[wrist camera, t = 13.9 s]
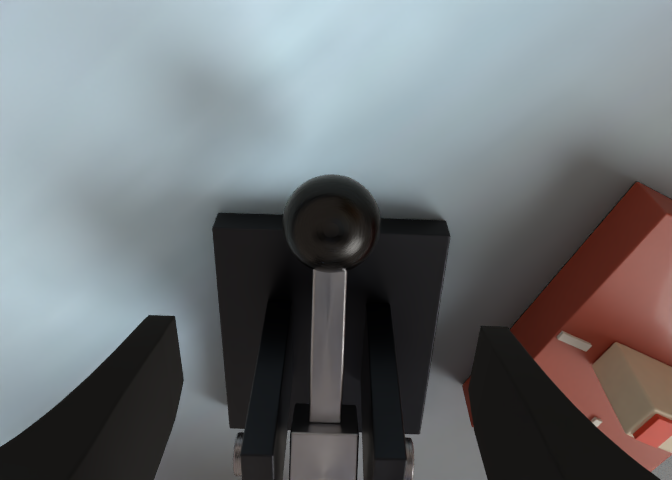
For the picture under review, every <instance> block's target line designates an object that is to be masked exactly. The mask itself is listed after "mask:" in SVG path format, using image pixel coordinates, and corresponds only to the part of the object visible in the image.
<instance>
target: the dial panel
mask: <svg viewBox="0 0 672 480" xmlns="http://www.w3.org/2000/svg"><path fill="white" fill-rule="evenodd" d="M510 331H511V332H512V333H513V335H514V336H515V337H516V338H517V340H518V341H519V342H520V343H521V344H522V346H523V347H524V348H525V349H526V351H527V352H528V353H529V354H530V355H531V357H532V358H533V359H534V360H535V361H536V363H537V364H538V365H539V366H540V367H541V369H542V370H543V371H544V372H545V373H546V374H547V376H548V377H549V378H550V379H551V380H552V381H553V382H554V383H555V385H556V386H557V387H558V388H559V389H560V390H561V391H562V392H563V393H564V395H565V396H566V397H567V398H568V399H569V400H570V401H571V402H572V403H573V404H574V405H575V406H576V407H577V408H578V409H579V410H580V411H581V412H582V413H583V414H584V415H585V416H586V417H587V418H588V419H589V420H590V421H591V422H592V423H593V424H594V425H595V426H596V427H597V428H598V429H599V430H600V431H602V432H603V433H604V434H605V435H606V436H607V437H608V438H609V439H611V440H612V441H613V442H614V443H615V444H616V445H618V446H619V447H620V448H621V449H622V450H623V451H624V452H626V453H627V454H628V455H629V456H631V457H632V458H633V459H634V460H636V461H637V462H638V463H639V464H641V465H642V466H643V467H644V468H646V469H647V470H648V471H650V472H651V471H653V470H654V469H655V468H656V467H657V466H659V465H660V464H661V463H662V462H663V461H665V460H666V459H667V458H668V457H670V456H671V455H672V453H670V452H668V451H665V450H663V449H660V448H655V447H652V446H650V445H648V444H645V443H643V442H640V441H638V440H635V438H634V437H631V436H629V435H627V434H626V433H625V432H624V430H623V428H622V426H621V424H620V422H619V420H618V418H617V416H616V414H615V412H614V410H613V408H612V406H611V404H610V402H609V400H608V398H607V396H606V394H605V392H604V390H603V388H602V386H601V384H600V382H599V380H598V378H597V376H596V374H595V372H594V370H593V368H592V365H593V364H594V363H595V362H596V361H597V360H598V359H599V358H600V357H601V356H602V355H603V354H604V353H605V352H606V351H607V350H608V349H609V348H610V347H611V346H612V345H613V344H614V343H615V342H618V343H620V344H623V345H625V346H627V347H629V348H631V349H633V350H636V351H638V352H640V353H642V354H644V355H647V356H649V357H651V358H653V359H655V360H658V361H660V362H662V363H664V364H666V365H669V366H671V367H672V199H670V198H668V197H666V196H664V195H662V194H660V193H658V192H656V191H655V190H653V189H651V188H649V187H647V186H645V185H643V184H641V183H639V182H636V183H635V184H634V185H633V186H632V187H631V189H630V190H629V191H628V192H627V193H626V194H625V196H624V197H623V198H622V199H621V200H620V201H619V203H618V204H617V205H616V206H615V207H614V208H613V210H612V211H611V212H610V213H609V214H608V215H607V217H606V218H605V219H604V220H603V221H602V222H601V224H600V225H599V226H598V227H597V228H596V230H595V231H594V232H593V233H592V234H591V235H590V237H589V238H588V239H587V240H586V241H585V242H584V244H583V245H582V246H581V247H580V248H579V249H578V251H577V252H576V253H575V254H574V255H573V256H572V258H571V259H570V260H569V261H568V262H567V263H566V265H565V266H564V267H563V268H562V269H561V270H560V272H559V273H558V274H557V275H556V276H555V277H554V279H553V280H552V281H551V282H550V283H549V284H548V286H547V287H546V288H545V289H544V290H543V291H542V293H541V294H540V295H539V296H538V297H537V299H536V300H535V301H534V302H533V303H532V304H531V306H530V307H529V308H528V309H527V310H526V311H525V313H524V314H523V315H522V316H521V317H520V318H519V320H518V321H517V322H516V323H515V324H514V325H513V327H512V328H511V329H510ZM470 377H471V376H470ZM470 377H469V378H468V379H467V380H466V382H465V383H464V384H463V385H462V387H463V391H464V395H465V400H466V404H467V408H468V413H469V417H470V421H471V426H472V427H474V426H473V420H472V413H471V407H470V399H469V392H468V387H469V382H470Z"/></svg>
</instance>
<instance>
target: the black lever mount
mask: <svg viewBox="0 0 672 480" xmlns="http://www.w3.org/2000/svg"><path fill="white" fill-rule="evenodd" d="M282 219H283V215H265V214H236V213H218V214H217V217H216V220H215V222H214V225H213V228H212V231H213V242H214V253H215V265H216V276H217V288H218V299H219V311H220V322H221V334H222V345H223V356H224V368H225V379H226V391H227V402H228V414H229V425H230V428H237V429H245V430H244V432H239V433H238V434H237V436H236V439H235V445H234V454H233V472H234V475H236V476H242V480H283V470H284V460H285V450H286V440H287V430H291V426H292V420H293V414H294V407H295V404H296V403H306V404H309V387H310V353H311V320H312V286H313V270H312V269H310V268H308V267H306V266H305V265H303V264H302V263H301V262H299V261H298V260H297V259H296V258H295V257H294V255H293V254H292V253H291V251H290V250H289V248H288V246H287V244H286V242H285V239H284V235H283V230H282ZM449 242H450V233H449V230H448V226H447V223H446V221H442V220H413V219H383V218H381V231H380V236H379V240H378V242H377V245H376V247H375V249H374V250H373V252H372V253H371V255H370V256H369V257H368V258H367V259H366V260H365V261H364V262H363V263H361V264H360V265H358V266H357V267H355V268H353V269H351V270H348V271H347V291H346V318H345V345H344V371H343V398H342V405H356V409H357V420H358V432H362V444H363V476H364V480H412V478H413V474H414V448H413V442H412V439H411V438H405V434H420V430H421V424H422V417H423V411H424V404H425V398H426V391H427V385H428V378H429V372H430V365H431V359H432V352H433V346H434V339H435V333H436V326H437V320H438V313H439V307H440V300H441V294H442V287H443V281H444V274H445V268H446V261H447V255H448V248H449Z"/></svg>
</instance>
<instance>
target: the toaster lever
mask: <svg viewBox="0 0 672 480" xmlns="http://www.w3.org/2000/svg"><path fill="white" fill-rule="evenodd" d="M282 230H283V235H284V239H285V242H286V244H287V246H288V248H289V250H290V251H291V253H292V254H293V255H294V257H295V258H296V259H297V260H298V261H299V262H301V263H302V264H303V265H305V266H306V267H308V268H310V269H312V270H313V286H312V320H311V353H310V387H309V404H306V403H296V404H295V407H294V414H293V420H292V426H291V432H290V464H289V480H357V469H358V445H359V432H358V420H357V409H356V405H342V398H343V371H344V345H345V318H346V291H347V271H348V270H351V269H353V268H355V267H357V266H358V265H360V264H361V263H363V262H364V261H365V260H366V259H367V258H368V257H369V256H370V255H371V253H372V252H373V250H374V249H375V247H376V245H377V242H378V240H379V236H380V231H381V217H380V212H379V208H378V206H377V203H376V201H375V199H374V198H373V196H372V195H371V193H370V192H369V191H368V190H367V189H366V188H365V187H364V186H363V185H361V184H360V183H359V182H357V181H355V180H353V179H351V178H349V177H346V176H341V175H334V174H332V175H322V176H318V177H315V178H312V179H310V180H308V181H306V182H305V183H303V184H302V185H301V186H299V187H298V188H297V189H296V190H295V191H294V192H293V194H292V195H291V197H290V198H289V200H288V202H287V204H286V206H285V209H284V213H283V219H282Z"/></svg>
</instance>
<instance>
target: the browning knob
mask: <svg viewBox="0 0 672 480" xmlns="http://www.w3.org/2000/svg"><path fill="white" fill-rule="evenodd" d="M592 368H593V370H594V372H595V374H596V376H597V378H598V380H599V382H600V384H601V386H602V388H603V390H604V392H605V394H606V396H607V398H608V400H609V402H610V404H611V406H612V408H613V410H614V412H615V414H616V416H617V418H618V420H619V422H620V424H621V426H622V428H623V430H624V432H625V433H626V434H627V435H629V436H631V437H634V438H635V440H638V441H640V442H643V443H645V444H648V445H650V446H652V447H655V448H660V449H663V450H665V451H668V452H670V453H672V367H671V366H669V365H666V364H664V363H662V362H660V361H658V360H655V359H653V358H651V357H649V356H647V355H644V354H642V353H640V352H638V351H636V350H633V349H631V348H629V347H627V346H625V345H623V344H620V343H618V342H615V343H614V344H613V345H612V346H611V347H610V348H609V349H608V350H607V351H606V352H605V353H604V354H603V355H602V356H601V357H600V358H599V359H598V360H597V361H596V362H595V363H594V364H593V365H592Z"/></svg>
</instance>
